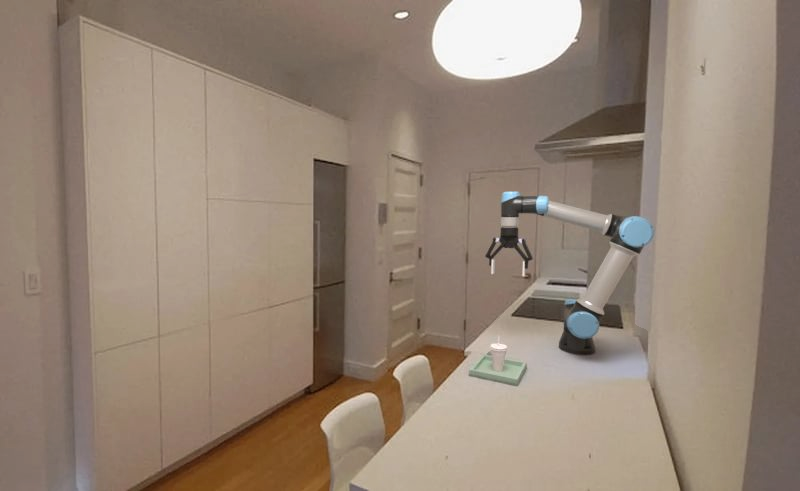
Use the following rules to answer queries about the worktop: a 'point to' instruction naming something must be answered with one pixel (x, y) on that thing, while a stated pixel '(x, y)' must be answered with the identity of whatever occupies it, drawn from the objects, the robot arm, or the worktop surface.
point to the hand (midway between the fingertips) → (508, 274)
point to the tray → (508, 376)
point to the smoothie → (498, 355)
